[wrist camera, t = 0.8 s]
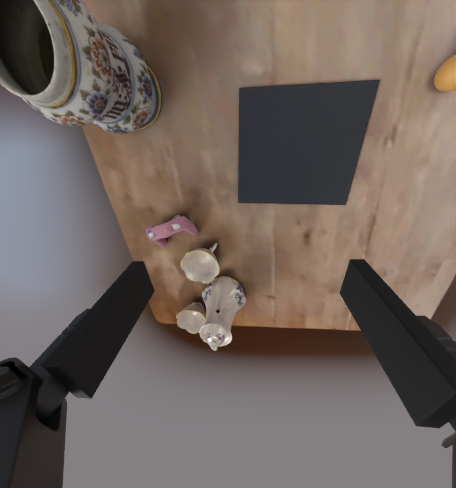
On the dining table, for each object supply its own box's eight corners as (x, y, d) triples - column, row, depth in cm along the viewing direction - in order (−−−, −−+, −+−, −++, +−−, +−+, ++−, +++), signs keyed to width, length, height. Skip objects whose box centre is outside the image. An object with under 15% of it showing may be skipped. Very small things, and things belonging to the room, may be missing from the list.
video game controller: (195, 215, 42) (178, 210, 35) (201, 234, 41) (184, 233, 35) (159, 228, 44) (137, 226, 38) (164, 247, 44) (143, 248, 37)
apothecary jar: (162, 44, 28) (40, -91, 12) (171, 136, 34) (95, 125, 18) (89, 47, 29) (-106, -72, 14) (110, 135, 35) (-12, 124, 19)
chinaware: (187, 230, 44) (141, 269, 29) (257, 244, 41) (246, 295, 26) (187, 314, 57) (155, 370, 42) (240, 329, 54) (227, 394, 39)
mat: (239, 88, 29) (239, 88, 29) (378, 80, 27) (379, 79, 26) (238, 202, 37) (238, 202, 37) (344, 204, 35) (345, 204, 35)
